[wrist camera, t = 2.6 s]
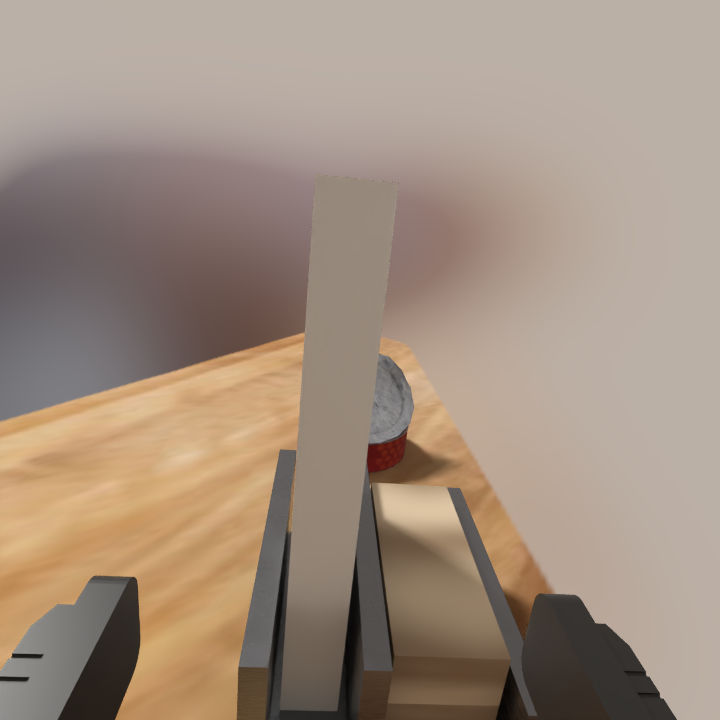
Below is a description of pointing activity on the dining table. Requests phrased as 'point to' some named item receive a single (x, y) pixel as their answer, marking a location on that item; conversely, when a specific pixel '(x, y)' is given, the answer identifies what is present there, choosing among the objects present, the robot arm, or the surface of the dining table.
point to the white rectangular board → (334, 428)
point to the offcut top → (435, 602)
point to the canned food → (389, 416)
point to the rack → (350, 620)
